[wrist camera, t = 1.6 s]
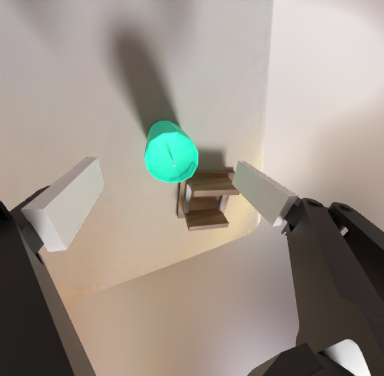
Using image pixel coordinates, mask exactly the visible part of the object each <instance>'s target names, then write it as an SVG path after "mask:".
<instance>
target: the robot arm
mask: <svg viewBox="0 0 384 376" xmlns="http://www.w3.org/2000/svg"><path fill="white" fill-rule="evenodd" d="M232 185H233V186H234V187H235V188H236V189H237V190H238V191H239V192H240V193H241V194H242V195H243V196H244V197H245V198H246V199H247V200H248V201H249V202H250V203H251V204H252V205H253V206H254V208H255V209H256V210H257V211H258V212H259V213H260V214H261V215H262V216H263V217H264V218H265V219H266V220H267V221H268V222H269V223H270V224H271V225H272V226H279V225H281V224H282V222H283V221H284V219H285V220H286V221H287V224H286V226H285V228H284V229H283V230H282V232H281V234H283V233H284V232H286V234H285V235H286V236H287V240H288V247H289V254H290V261H291V268H292V275H293V282H294V289H295V296H296V303H297V310H298V317H299V332H298V335H297V338H296V347H294V348H291V349H289V350H286V351H284V352H281V353H280V354H278V355H276V356H275V357H273V358H271V359H270V360H268V361H266V362H265V363H263V364H261V365H259V366H258V367H256V368H254V369H253V370H252V371H251V372H250V373H249V374H248V375H247V376H384V232H383V231H382V230H380V229H379V228H378V227H376V226H375V225H374V224H373V223H371V222H370V221H369V220H367V219H366V218H365V217H364V216H362V215H361V214H360V213H358V212H357V211H356V210H354V209H353V208H351V207H349V206H348V205H346V204H343V203H337V202H334V203H332V204H331V206H330V207H329V208H327V207H324V206H323V205H322V204H321V203H319V202H317V201H316V200H313V199H309V198H303V199H300V198H299V197H298V195H296V194H295V193H293V192H291V191H290V190H288V189H287V188H285V187H284V186H282V185H281V184H279V183H277V182H276V181H274V180H273V179H271V178H270V177H268V176H267V175H265V174H263V173H262V172H260V171H259V170H257V169H256V168H254V167H253V166H251V165H249V164H248V163H246V162H245V161H238V164H237V168H236V171H235V175H234V178H233V182H232ZM104 187H105V185H104V181H103V177H102V173H101V169H100V165H99V161H98V157H86V158H85V159H84V160H83V161H81V162H80V163H79V164H78V165H76V166H75V167H74V168H72V169H71V170H70V171H69V172H67V173H66V174H65V175H64V176H62V177H61V178H60V179H59V180H57V181H56V182H55V183H54V184H52V185H51V186H47V187H44V188H42V189H40V190H38V191H37V192H35V193H34V194H33V195H31V197H29V198H27V199H26V200H25V201H23V202H22V203H21V204H19V205H18V206H16V207H15V208H14V209H12V210H11V211H10V212H9V211H8V210H7V208H6V207H5V206H4V204H3V203H2V202H1V201H0V376H96V374H95V372H94V370H93V368H92V365H91V363H90V361H89V359H88V357H87V355H86V353H85V350H84V348H83V346H82V344H81V342H80V339H79V337H78V335H77V333H76V331H75V329H74V327H73V324H72V322H71V320H70V318H69V316H68V313H67V311H66V309H65V307H64V305H63V303H62V300H61V298H60V296H59V294H58V292H57V290H56V287H55V285H54V283H53V281H52V279H51V276H50V274H49V272H48V270H47V268H46V266H45V263H44V261H43V259H42V257H41V255H40V254H39V252H38V251H39V250H40V248H41V247H42V246H43V244H44V246H45V247H46V249H47V250H48V252H52V251H61V250H67V248H68V247H69V245H70V243H71V242H72V240H73V238H74V237H75V235H76V233H77V232H78V230H79V228H80V227H81V225H82V223H83V222H84V220H85V218H86V217H87V215H88V213H89V212H90V210H91V208H92V207H93V205H94V203H95V202H96V200H97V198H98V197H99V195H100V193H101V192H102V190H103V188H104ZM345 227H346V228H347V229H348V232H347V233H346V234H345V235H344V236H342V234H341V233H340V232H341V231H342V230H343V229H344V228H345Z"/></svg>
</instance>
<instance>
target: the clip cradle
mask: <svg viewBox="0 0 384 376" xmlns="http://www.w3.org/2000/svg"><path fill="white" fill-rule="evenodd" d="M234 175H235V172H234V171H195V172H194V174H193V175H192V177H190V178H188V179H186V180H184V181H182V182H180V187H179V200H178V214H177V216H178V218H185V219H186V223H187V226H188V230H189V231H196V230H205V229H214V228H223V227H228V225H229V222H228V221H227V219H226V218H225V216H224V211H225V208H226V205H227V201H228V198H229V195H239V193H240V192H239V191H238V190H237V189H236V188H235V187H234V186H233V185H232V182H233V178H234Z"/></svg>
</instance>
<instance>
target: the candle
mask: <svg viewBox="0 0 384 376" xmlns="http://www.w3.org/2000/svg"><path fill="white" fill-rule="evenodd" d="M144 158H145V162H146V167H147V170H148V171H149V172H150V173H151V174H152V175H153V177H154V178H155V179H157V180H160V181H163V182H166V183H176V182H182V181H184V180H186V179H188V178H190V177H192V175H193V174H194V172H195V170H196V168H197V166H198V150H197V149H196V147H195V145H194V143H193V142H192V140H191V139H190V138H189V137H188V136H187V135H186V134H185V133H184V132H183V131H182V129H181V128H180V127H179V126H178V125H176V124H174V123H173V122H171V121H169V120H164V121H158V122H157V123H155V124H154V125H152V126H151V128H150V131H149V134H148V138H147V143H146V149H145V155H144Z"/></svg>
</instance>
